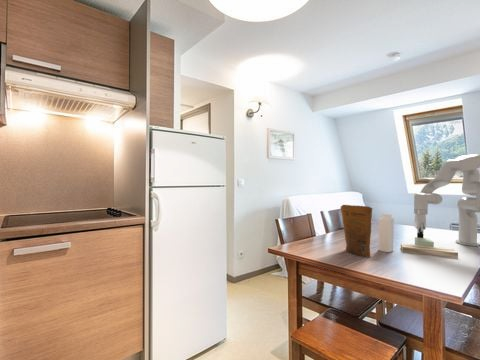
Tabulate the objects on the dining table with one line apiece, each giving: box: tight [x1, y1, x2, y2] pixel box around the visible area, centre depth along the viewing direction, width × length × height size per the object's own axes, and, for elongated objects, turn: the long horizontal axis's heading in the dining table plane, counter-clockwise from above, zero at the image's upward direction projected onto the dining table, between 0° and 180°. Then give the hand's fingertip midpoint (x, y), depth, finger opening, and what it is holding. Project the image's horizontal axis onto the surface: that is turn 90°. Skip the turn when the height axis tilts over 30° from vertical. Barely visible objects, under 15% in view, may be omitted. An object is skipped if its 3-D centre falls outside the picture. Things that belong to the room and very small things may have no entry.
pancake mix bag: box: [340, 204, 373, 258], centre depth 151 cm, size 7×19×28 cm, turn 28°
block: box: [414, 236, 435, 247], centre depth 164 cm, size 10×8×6 cm
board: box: [400, 242, 459, 259], centre depth 155 cm, size 10×26×3 cm, turn 65°
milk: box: [378, 213, 395, 253], centre depth 158 cm, size 6×6×22 cm
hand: (420, 239), depth 175 cm, fingers closed
